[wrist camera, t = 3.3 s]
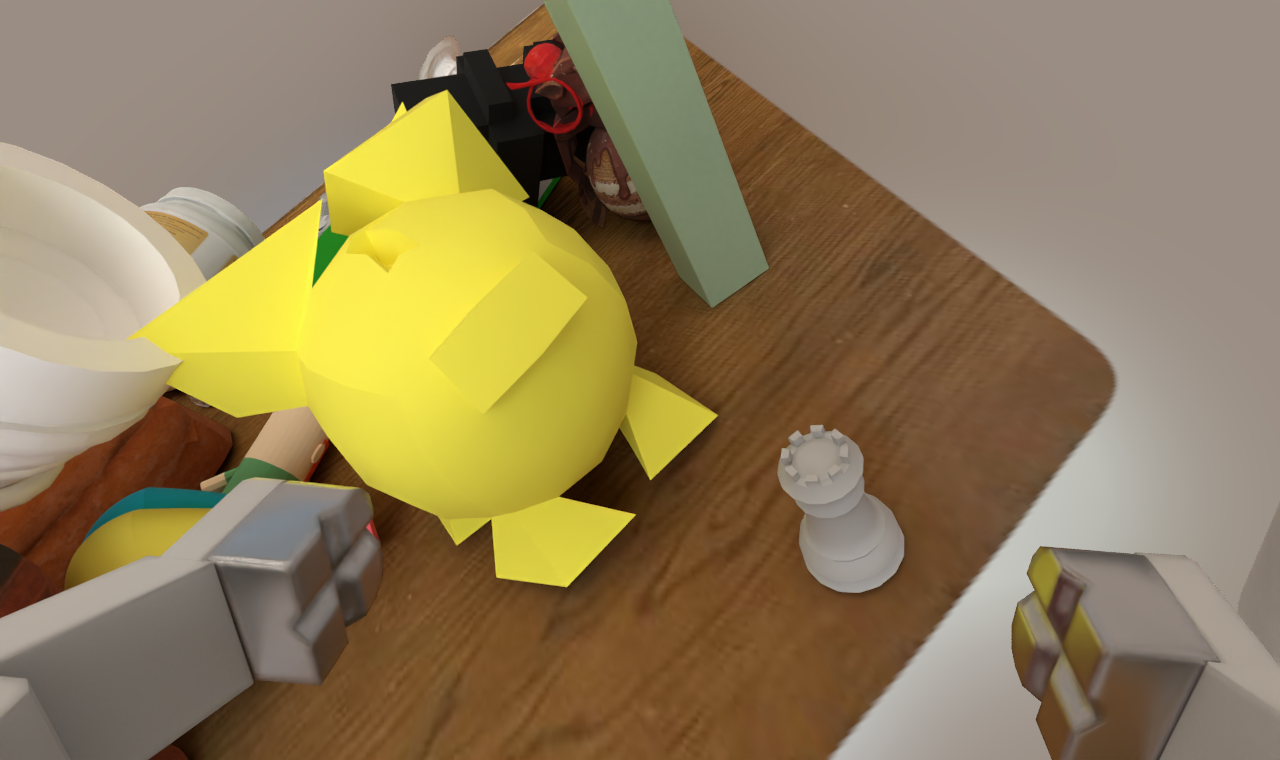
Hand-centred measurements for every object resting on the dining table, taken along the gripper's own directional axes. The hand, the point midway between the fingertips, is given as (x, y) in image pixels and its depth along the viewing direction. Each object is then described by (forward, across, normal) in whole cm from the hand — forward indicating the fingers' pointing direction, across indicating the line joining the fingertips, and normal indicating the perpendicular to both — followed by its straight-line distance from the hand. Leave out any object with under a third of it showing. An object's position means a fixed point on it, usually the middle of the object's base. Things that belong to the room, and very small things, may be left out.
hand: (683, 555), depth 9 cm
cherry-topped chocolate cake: (+48, +6, +8) cm, 49 cm away
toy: (+52, +10, +2) cm, 53 cm away
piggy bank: (+29, +10, +18) cm, 35 cm away
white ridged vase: (+18, +27, +3) cm, 33 cm away
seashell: (+80, +31, -1) cm, 86 cm away
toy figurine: (+32, +29, +24) cm, 49 cm away
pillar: (+39, 0, +10) cm, 40 cm away
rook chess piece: (+20, -6, +16) cm, 26 cm away
